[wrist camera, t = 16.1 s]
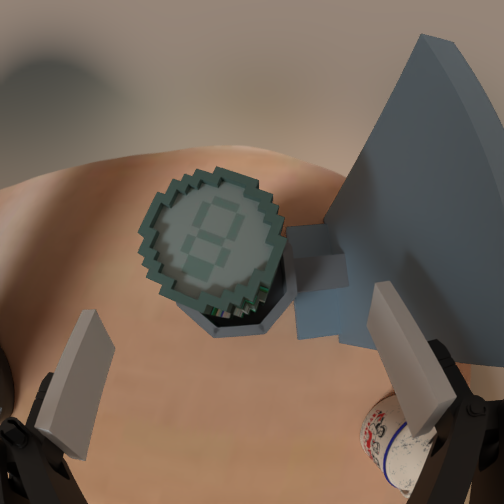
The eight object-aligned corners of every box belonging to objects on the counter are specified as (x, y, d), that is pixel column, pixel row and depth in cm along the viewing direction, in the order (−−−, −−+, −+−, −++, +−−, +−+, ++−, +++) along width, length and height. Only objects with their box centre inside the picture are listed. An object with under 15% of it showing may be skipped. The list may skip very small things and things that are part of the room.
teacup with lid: (356, 400, 30) (399, 431, 19) (425, 383, 30) (484, 400, 19) (356, 486, 27) (389, 536, 16) (422, 467, 27) (469, 503, 16)
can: (190, 301, 27) (118, 275, 12) (216, 239, 28) (177, 154, 14) (255, 327, 26) (251, 332, 12) (279, 263, 28) (303, 196, 13)
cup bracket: (201, 356, 32) (48, 428, 6) (193, 230, 35) (83, 53, 10) (360, 339, 32) (559, 348, 6) (344, 217, 35) (460, 44, 10)
